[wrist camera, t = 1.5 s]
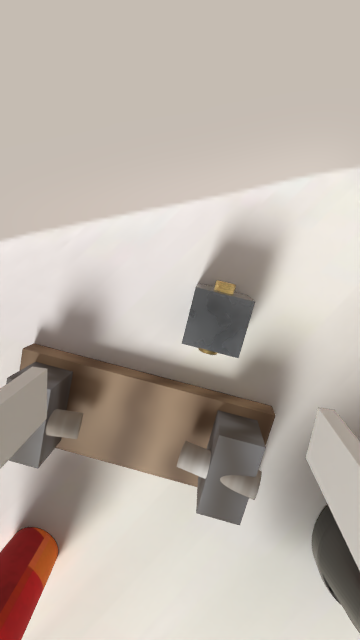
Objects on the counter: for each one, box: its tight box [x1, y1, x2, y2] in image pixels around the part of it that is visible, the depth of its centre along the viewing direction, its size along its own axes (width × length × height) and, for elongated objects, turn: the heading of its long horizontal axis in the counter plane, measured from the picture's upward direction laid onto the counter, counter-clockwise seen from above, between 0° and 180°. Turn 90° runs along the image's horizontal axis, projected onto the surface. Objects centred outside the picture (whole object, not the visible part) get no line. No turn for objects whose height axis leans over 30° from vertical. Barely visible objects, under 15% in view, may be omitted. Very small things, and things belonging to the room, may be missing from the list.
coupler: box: [182, 280, 255, 358], centre depth 28 cm, size 7×5×5 cm
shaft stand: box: [6, 344, 275, 525], centre depth 30 cm, size 26×10×7 cm, turn 76°
